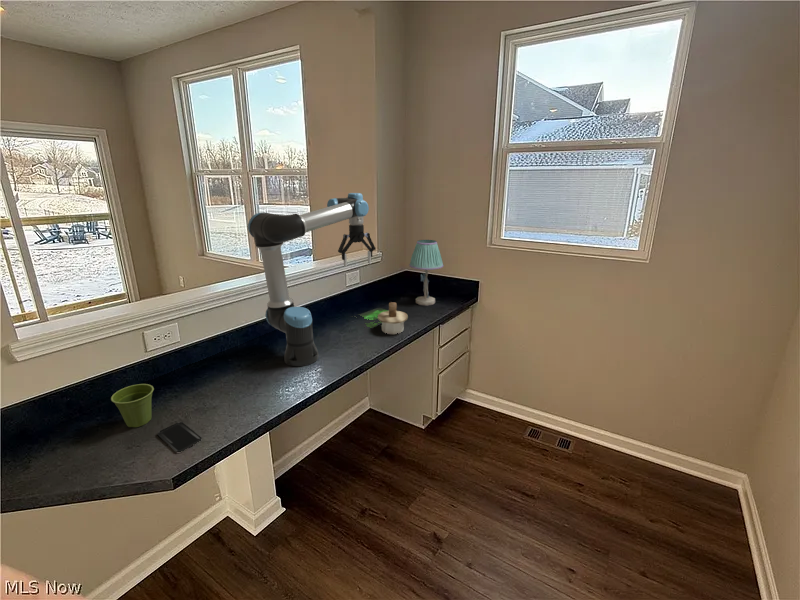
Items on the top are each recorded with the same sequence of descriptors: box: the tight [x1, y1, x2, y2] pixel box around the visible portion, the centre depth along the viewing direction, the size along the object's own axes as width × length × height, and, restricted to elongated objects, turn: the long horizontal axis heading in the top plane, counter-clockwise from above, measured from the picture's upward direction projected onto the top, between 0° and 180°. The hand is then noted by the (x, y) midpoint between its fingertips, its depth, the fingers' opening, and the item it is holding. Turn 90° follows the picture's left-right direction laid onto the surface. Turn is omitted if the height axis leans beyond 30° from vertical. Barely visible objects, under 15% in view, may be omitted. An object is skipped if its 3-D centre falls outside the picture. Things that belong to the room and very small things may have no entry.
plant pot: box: [110, 383, 155, 428], centre depth 130 cm, size 12×12×11 cm
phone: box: [156, 421, 203, 453], centre depth 124 cm, size 8×1×15 cm
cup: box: [381, 321, 405, 335], centre depth 207 cm, size 11×11×7 cm
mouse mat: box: [350, 307, 389, 329], centre depth 225 cm, size 27×22×1 cm
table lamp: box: [408, 239, 444, 306], centre depth 245 cm, size 22×22×40 cm
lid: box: [378, 301, 409, 324], centre depth 204 cm, size 16×16×8 cm
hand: (357, 264), depth 204 cm, fingers open, 13 cm apart
